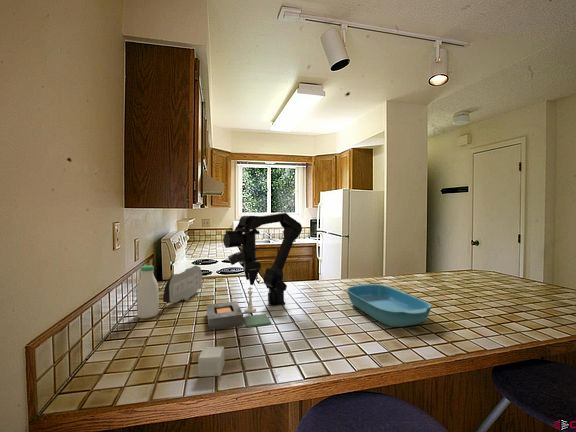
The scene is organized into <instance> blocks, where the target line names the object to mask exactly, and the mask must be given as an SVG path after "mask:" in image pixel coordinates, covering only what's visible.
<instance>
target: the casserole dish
mask: <svg viewBox="0 0 576 432" xmlns="http://www.w3.org/2000/svg"><path fill="white" fill-rule="evenodd" d="M346 291H347V294H348V297H349V300H350V302H351V304H353V306H355V307H356V308H358V309H359V310H361V311H362V312H363V313H365V314H366V315H368V316H370V317H371V318H373V319H374V320H376V321H377V322H379V323H382V324H383V325H384V326H388V327H393V328H399V327H407V326H413V325H418V324H422V323H424V322H425V321H426V320H427V318H428V317H429V315H430V312H431V310H432V308H433V306H432V304H431V303H429V302H427V301H425V300H424V299H420V298H418V297H416V296H414V295H412V294H409V293H406V292H404V291H402V290H399V289H396V288H394V287H391V286H390V285H389V286H388V285H386V284H385V285H384V284H370V283H361V284H354V285H352V286H349V287H347V288H346Z"/></svg>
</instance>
